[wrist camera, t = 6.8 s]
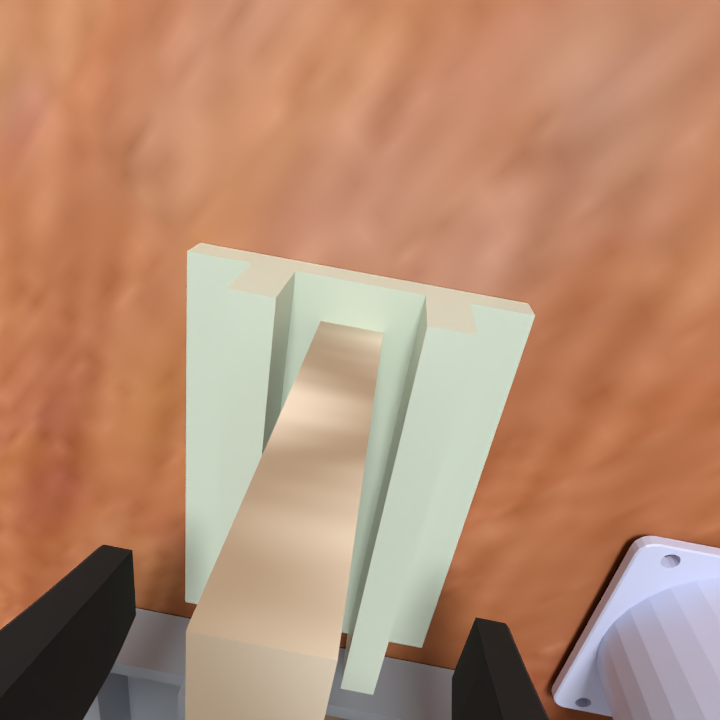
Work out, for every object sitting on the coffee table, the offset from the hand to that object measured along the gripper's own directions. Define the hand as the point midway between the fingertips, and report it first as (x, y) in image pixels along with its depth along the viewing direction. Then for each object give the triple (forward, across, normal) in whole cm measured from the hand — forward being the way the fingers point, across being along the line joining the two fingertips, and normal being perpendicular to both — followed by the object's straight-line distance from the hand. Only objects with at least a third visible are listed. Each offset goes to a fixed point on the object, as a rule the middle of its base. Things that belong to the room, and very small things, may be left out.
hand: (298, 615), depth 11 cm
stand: (+5, 0, 0) cm, 5 cm away
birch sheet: (+4, 0, 0) cm, 4 cm away
